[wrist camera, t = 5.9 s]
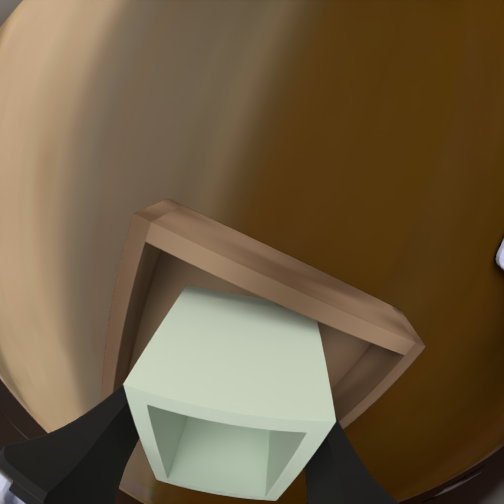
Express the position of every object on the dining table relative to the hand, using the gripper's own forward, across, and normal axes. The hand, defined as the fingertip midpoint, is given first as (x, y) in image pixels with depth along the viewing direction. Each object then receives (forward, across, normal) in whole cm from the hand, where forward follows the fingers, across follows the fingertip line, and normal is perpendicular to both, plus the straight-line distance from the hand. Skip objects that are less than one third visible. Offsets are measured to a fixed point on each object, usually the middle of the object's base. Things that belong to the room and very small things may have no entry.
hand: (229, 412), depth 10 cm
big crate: (+4, 0, 0) cm, 4 cm away
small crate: (+3, 0, 0) cm, 3 cm away
